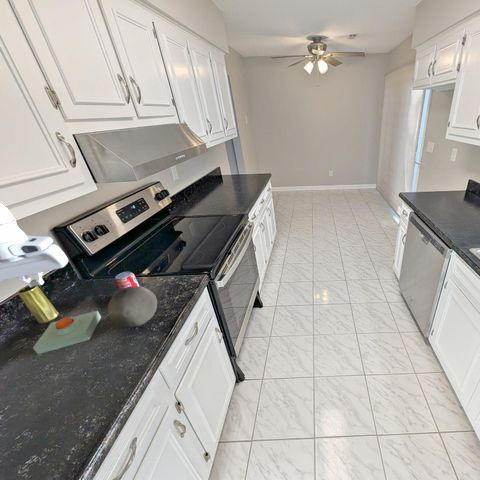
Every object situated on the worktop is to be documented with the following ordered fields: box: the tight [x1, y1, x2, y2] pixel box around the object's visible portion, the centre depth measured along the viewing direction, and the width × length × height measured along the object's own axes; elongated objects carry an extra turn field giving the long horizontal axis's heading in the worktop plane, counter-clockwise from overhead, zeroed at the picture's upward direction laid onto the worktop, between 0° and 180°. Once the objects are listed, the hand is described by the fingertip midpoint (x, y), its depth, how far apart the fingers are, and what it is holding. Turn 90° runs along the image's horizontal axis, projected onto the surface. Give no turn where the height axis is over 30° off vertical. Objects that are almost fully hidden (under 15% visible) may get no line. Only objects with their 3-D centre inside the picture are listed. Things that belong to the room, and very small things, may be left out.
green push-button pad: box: [32, 310, 102, 355], centre depth 89 cm, size 14×12×5 cm
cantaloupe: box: [107, 285, 158, 329], centre depth 90 cm, size 14×14×15 cm
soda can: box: [114, 271, 140, 291], centre depth 104 cm, size 6×6×12 cm
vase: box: [16, 285, 60, 324], centre depth 96 cm, size 6×6×14 cm
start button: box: [55, 316, 73, 329], centre depth 88 cm, size 4×4×2 cm
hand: (37, 285), depth 82 cm, fingers closed
